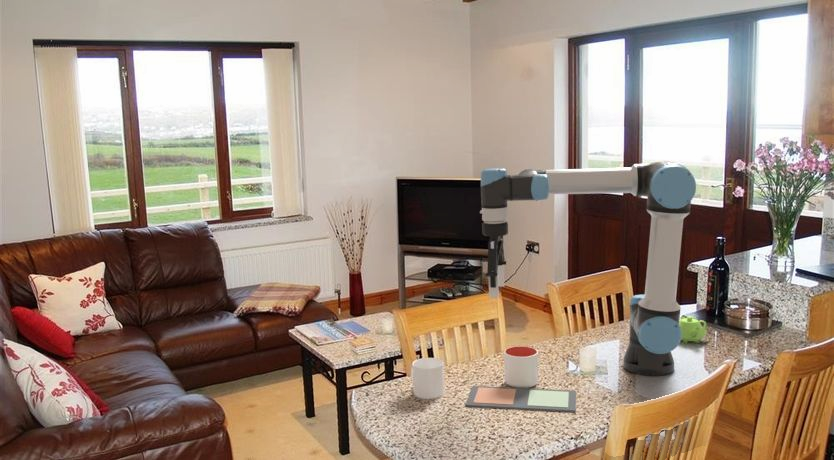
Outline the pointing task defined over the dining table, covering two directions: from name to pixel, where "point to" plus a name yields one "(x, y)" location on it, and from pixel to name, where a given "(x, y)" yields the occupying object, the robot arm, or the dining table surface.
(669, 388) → the dining table surface
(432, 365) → the mug
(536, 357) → the cup
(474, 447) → the dining table surface
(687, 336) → the teapot
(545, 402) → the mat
